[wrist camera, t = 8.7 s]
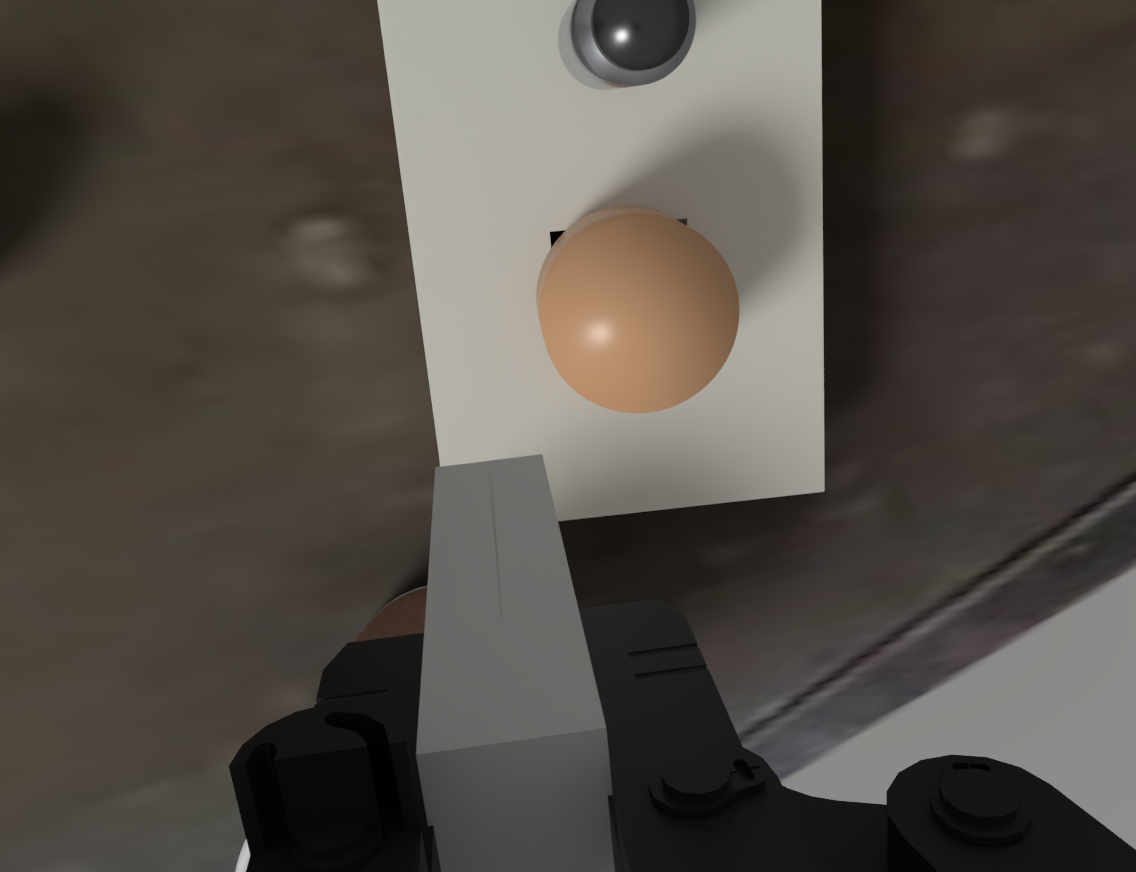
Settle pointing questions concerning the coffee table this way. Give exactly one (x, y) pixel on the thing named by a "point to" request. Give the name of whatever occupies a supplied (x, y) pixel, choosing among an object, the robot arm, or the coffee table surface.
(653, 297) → the knob terracotta
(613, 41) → the pot post
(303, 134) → the coffee table surface
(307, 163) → the coffee table surface
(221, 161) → the coffee table surface
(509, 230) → the mount board
